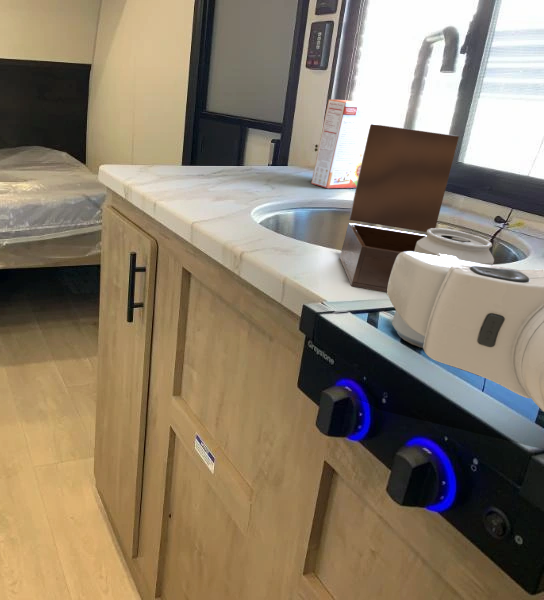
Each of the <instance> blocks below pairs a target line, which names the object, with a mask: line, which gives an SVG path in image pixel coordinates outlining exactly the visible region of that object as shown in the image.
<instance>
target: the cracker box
mask: <svg viewBox="0 0 544 600" xmlns="http://www.w3.org/2000/svg"><path fill="white" fill-rule="evenodd" d="M383 107H384V105H383V104H378V103H373V102H366V101H356V100H347V99H333V98H331V99H328V101H327V106H326V111H325V115H324V116H325V117H324V120H323V125H322V130H321V134H320V139H319V144H318V148H317V153H316V158H315V163H314V168H313V172H312V176H311V177H312V178H311V182H310V184H311V185H315V186H318V187H321V188H324V189H356V186H357V182H358V177H359V173H360V169H361V164H362V160H363V155H364V151H365V146H366V142H367V137H368V133H369V129H370V125H371V124H375V125H380V124H379V123H380V121H381V120H380V119H381V114H382V111H383Z"/></svg>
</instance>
